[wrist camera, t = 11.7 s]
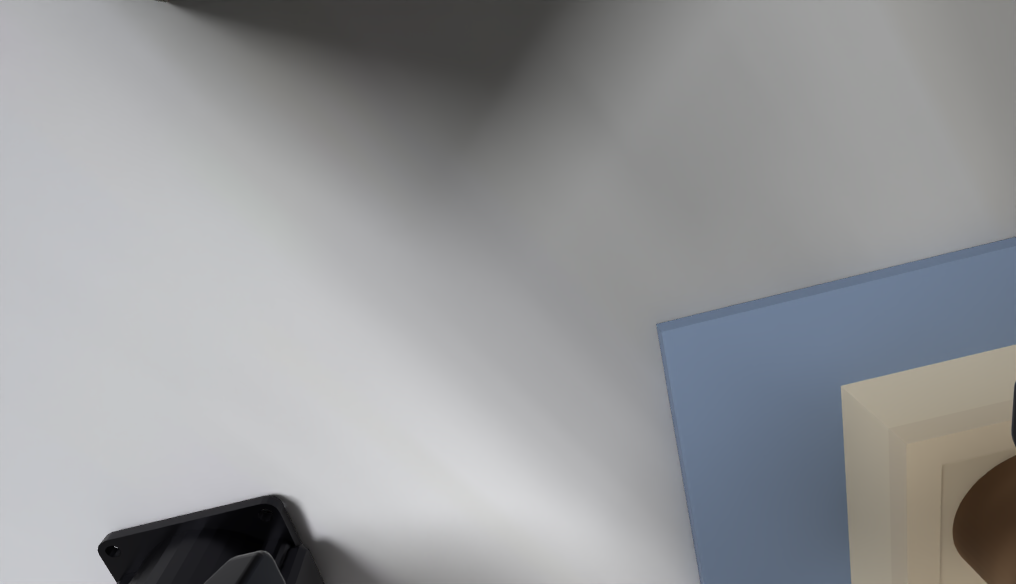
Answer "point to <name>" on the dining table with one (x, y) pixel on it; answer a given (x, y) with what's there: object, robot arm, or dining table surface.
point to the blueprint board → (793, 401)
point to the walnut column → (989, 525)
